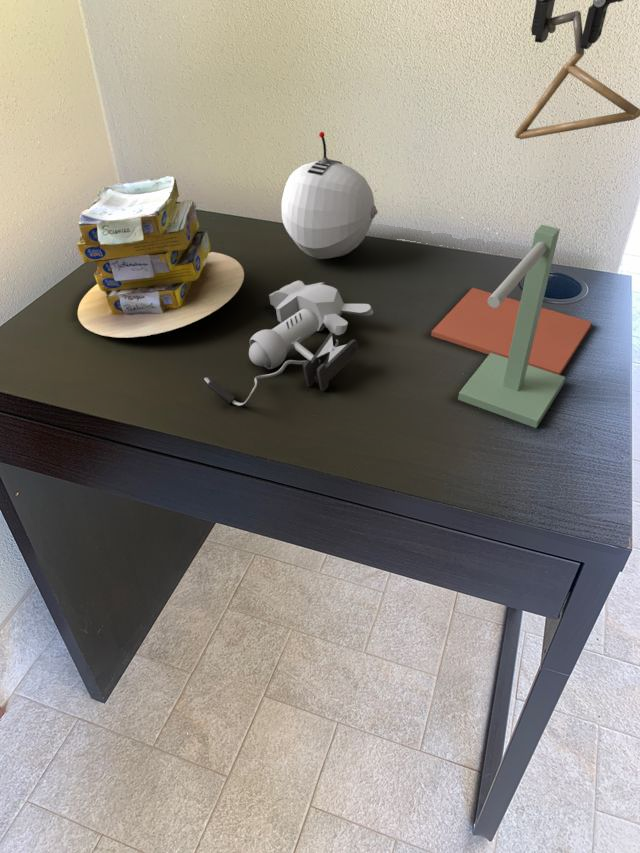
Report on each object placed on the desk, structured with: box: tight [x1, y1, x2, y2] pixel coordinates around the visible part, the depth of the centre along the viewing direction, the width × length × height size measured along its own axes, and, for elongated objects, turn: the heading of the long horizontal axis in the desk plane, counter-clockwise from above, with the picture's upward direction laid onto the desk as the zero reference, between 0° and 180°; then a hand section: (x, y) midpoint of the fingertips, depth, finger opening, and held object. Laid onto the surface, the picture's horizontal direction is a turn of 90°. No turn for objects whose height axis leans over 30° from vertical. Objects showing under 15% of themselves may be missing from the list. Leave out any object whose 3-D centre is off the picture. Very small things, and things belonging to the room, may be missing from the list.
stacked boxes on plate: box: [76, 175, 245, 339], centre depth 97 cm, size 25×25×17 cm
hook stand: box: [457, 224, 566, 429], centre depth 75 cm, size 10×19×22 cm, turn 147°
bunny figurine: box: [268, 280, 374, 336], centre depth 96 cm, size 10×5×15 cm
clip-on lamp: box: [203, 309, 358, 407], centre depth 86 cm, size 12×6×18 cm
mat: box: [431, 287, 593, 376], centre depth 95 cm, size 18×14×1 cm
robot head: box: [281, 131, 379, 260], centre depth 107 cm, size 16×14×20 cm
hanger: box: [514, 10, 640, 140], centre depth 72 cm, size 14×1×11 cm, turn 57°
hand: (563, 43), depth 71 cm, fingers closed on hanger, 4 cm apart
